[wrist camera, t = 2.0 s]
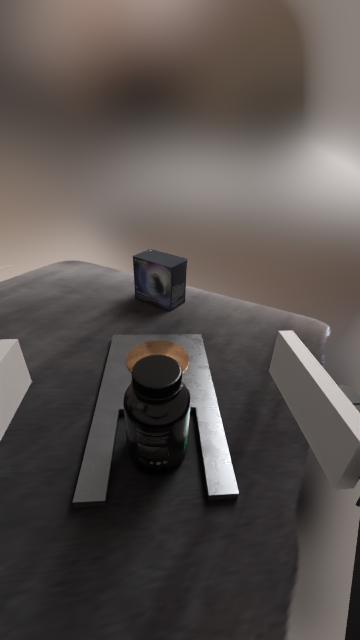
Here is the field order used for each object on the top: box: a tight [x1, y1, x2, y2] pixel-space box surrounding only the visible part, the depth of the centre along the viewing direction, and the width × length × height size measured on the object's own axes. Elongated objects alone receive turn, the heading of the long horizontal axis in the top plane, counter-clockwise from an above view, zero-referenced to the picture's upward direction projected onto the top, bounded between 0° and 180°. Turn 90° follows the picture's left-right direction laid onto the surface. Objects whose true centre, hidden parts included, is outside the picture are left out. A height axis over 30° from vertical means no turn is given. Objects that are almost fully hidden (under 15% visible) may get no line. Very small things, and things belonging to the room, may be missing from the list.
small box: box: [133, 249, 187, 311], centre depth 62 cm, size 11×6×10 cm, turn 56°
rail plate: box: [73, 334, 239, 508], centre depth 39 cm, size 28×16×1 cm, turn 4°
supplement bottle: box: [123, 354, 191, 475], centre depth 29 cm, size 7×7×12 cm
